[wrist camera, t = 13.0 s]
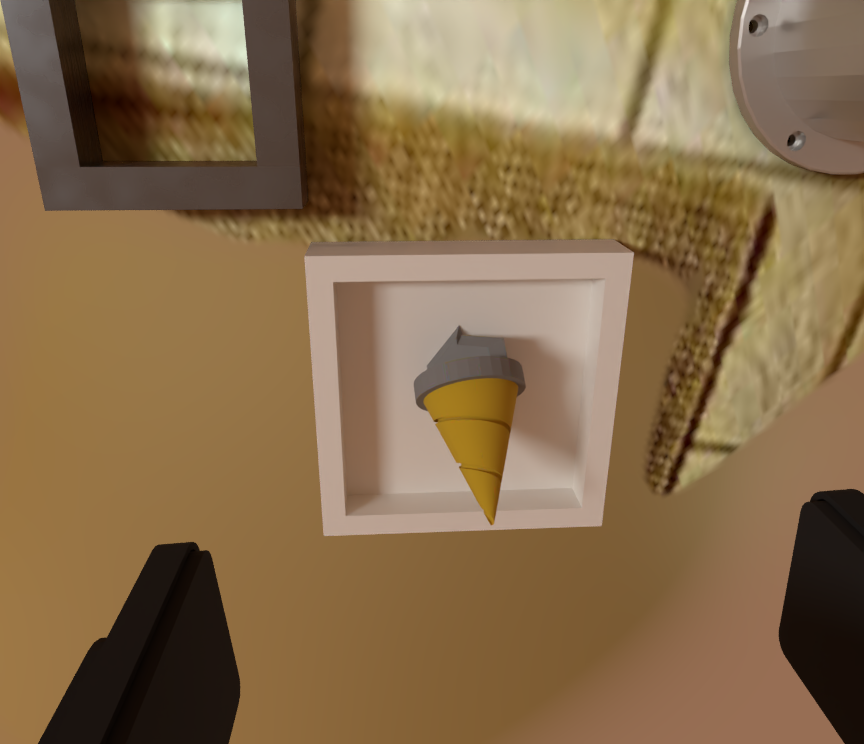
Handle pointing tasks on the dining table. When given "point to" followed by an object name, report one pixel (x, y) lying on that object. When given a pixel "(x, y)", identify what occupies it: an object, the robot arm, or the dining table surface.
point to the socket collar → (156, 180)
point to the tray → (420, 341)
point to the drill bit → (473, 408)
